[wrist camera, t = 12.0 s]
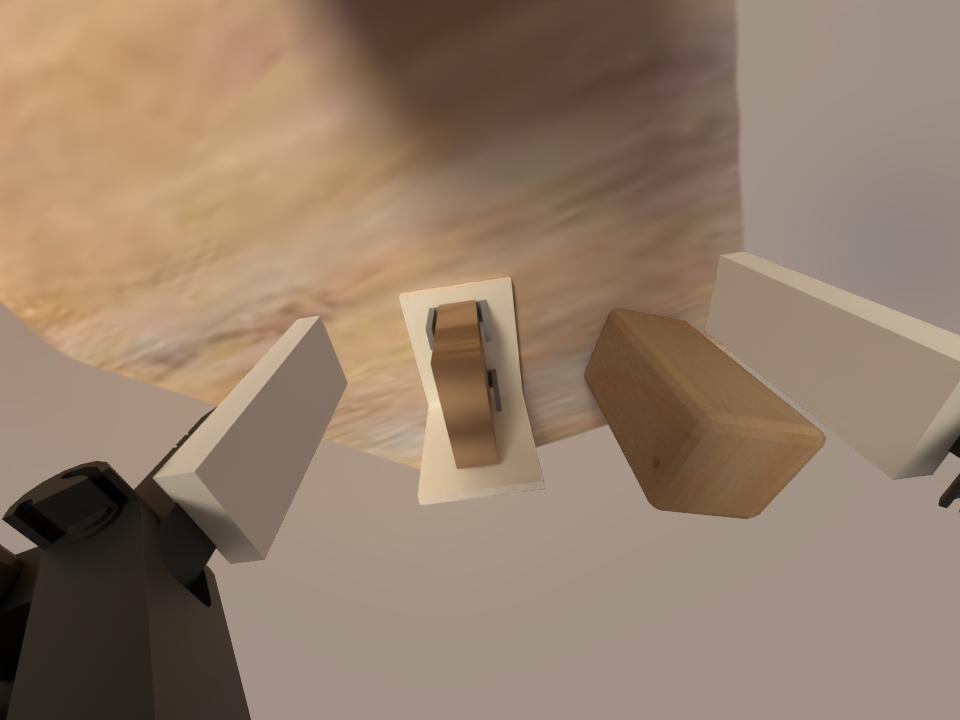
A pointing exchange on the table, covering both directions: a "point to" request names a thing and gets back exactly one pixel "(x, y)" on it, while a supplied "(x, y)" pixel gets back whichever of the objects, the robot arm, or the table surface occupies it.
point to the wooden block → (695, 419)
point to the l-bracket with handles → (508, 405)
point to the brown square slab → (464, 384)
